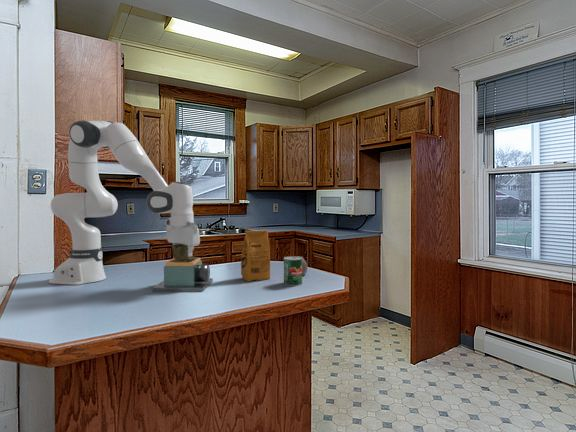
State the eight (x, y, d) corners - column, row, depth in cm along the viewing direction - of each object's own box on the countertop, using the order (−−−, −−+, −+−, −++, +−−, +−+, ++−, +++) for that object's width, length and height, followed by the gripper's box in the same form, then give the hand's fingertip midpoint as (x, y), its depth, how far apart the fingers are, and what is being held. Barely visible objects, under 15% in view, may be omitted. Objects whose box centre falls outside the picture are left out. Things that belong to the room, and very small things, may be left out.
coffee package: (239, 277, 163) (238, 229, 162) (265, 275, 168) (264, 228, 167) (245, 282, 154) (244, 231, 153) (272, 279, 159) (271, 230, 157)
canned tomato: (296, 286, 146) (296, 260, 145) (280, 284, 150) (279, 258, 150) (305, 282, 153) (305, 257, 152) (290, 280, 157) (289, 255, 156)
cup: (194, 262, 150) (194, 243, 149) (184, 266, 143) (183, 246, 142) (179, 261, 152) (178, 242, 151) (168, 264, 145) (167, 245, 144)
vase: (309, 274, 169) (309, 255, 169) (305, 277, 163) (305, 258, 162) (295, 273, 172) (295, 255, 171) (290, 276, 165) (290, 257, 165)
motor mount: (152, 291, 140) (151, 263, 140) (167, 281, 156) (166, 256, 156) (202, 291, 140) (202, 263, 139) (212, 281, 156) (212, 256, 155)
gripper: (203, 222, 142) (204, 256, 142) (176, 220, 156) (177, 251, 156) (189, 223, 137) (190, 258, 138) (163, 220, 151) (164, 253, 152)
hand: (183, 255), depth 147 cm, fingers open, 8 cm apart
